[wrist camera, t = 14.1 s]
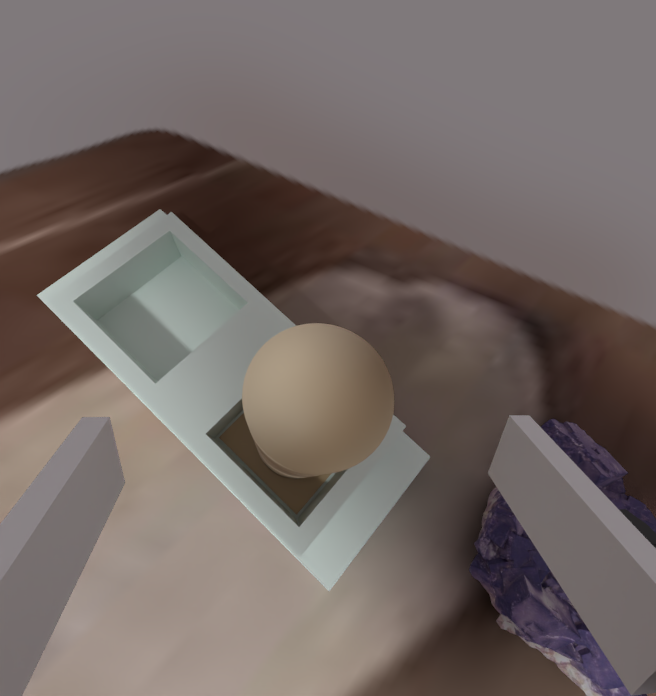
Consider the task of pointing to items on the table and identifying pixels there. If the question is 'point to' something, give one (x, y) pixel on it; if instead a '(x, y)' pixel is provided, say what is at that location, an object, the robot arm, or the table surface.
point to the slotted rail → (221, 383)
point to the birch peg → (317, 400)
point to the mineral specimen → (537, 579)
